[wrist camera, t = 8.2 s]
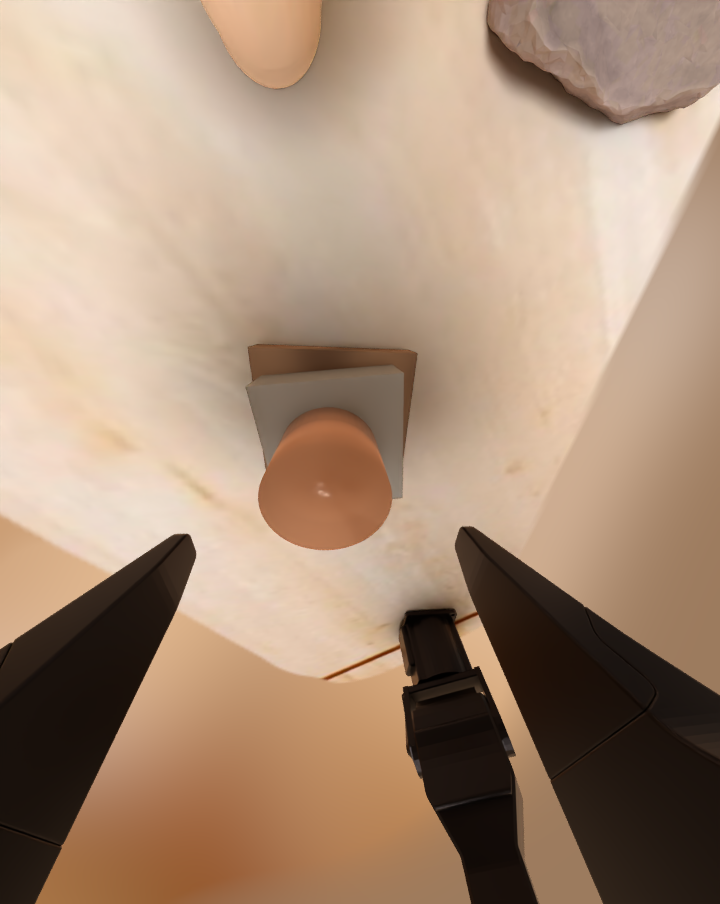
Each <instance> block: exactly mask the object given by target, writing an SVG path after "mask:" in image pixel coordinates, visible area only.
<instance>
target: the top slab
mask: <svg viewBox="0 0 720 904" xmlns="http://www.w3.org/2000/svg"><path fill="white" fill-rule="evenodd" d="M246 390H247V394H248V397H249V401H250V405H251V408H252V412H253V415H254V419H255V423H256V426H257V430H258V434H259V437H260V441H261V445H262V448H263V452H264V455H265V459H266V463H267V466H268V465H269V463H270V461H271V459H272V457H273V455H274V453H275V451H276V448H277V446H278V444H279V442H280V440H281V438H282V436H283V434H284V432H285V430H286V428H287V427H288V426H289V424H290V423H291V422H292V421H293V420H294V419H295V418H297V417H298V416H300V415H301V414H303V413H305V412H307V411H310V410H312V409H317V408H323V407H334V408H340V409H343V410H347V411H349V412H351V413H353V414H355V415H357V416H358V417H360V418H361V419H362V420H363V421H364V422H365V423H366V424H367V425H368V426H369V427H370V429H371V430H372V432H373V434H374V436H375V439H376V442H377V445H378V448H379V451H380V454H381V457H382V460H383V463H384V466H385V470H386V473H387V476H388V479H389V482H390V485H391V489H392V499H398V498H402V486H403V402H404V373H403V372H402V371H400V370H399V369H398V368H396V367H395V366H394V365H380V366H368V367H356V368H345V369H333V370H321V371H309V372H298V373H286V374H274V375H262V376H260V377H259V378H257V379H256V380H254V381H253V382H251V383H250V384H249V385H247V386H246Z"/></svg>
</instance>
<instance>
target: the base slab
mask: <svg viewBox="0 0 720 904" xmlns="http://www.w3.org/2000/svg"><path fill="white" fill-rule="evenodd" d="M248 353H249V360H250V366H251V373H252V380H253V381H254V380H256V379H257V378H259V377H260V376H262V375H274V374H286V373H298V372H309V371H321V370H333V369H345V368H356V367H368V366H380V365H394V366H395V367H396V368H398V369H399V370H400V371H402V372H403V373H404V402H403V456H404V448H405V441H406V434H407V426H408V419H409V412H410V404H411V397H412V390H413V382H414V375H415V368H416V360H417V353H415V352H412V351H410V350H395V349H369V348H342V347H316V346H290V345H264V344H257V345H253V346H250V347H248ZM263 454H264V452H263ZM264 461H265V468H266V470H267V467H268V466H267V463H266V459H265V455H264Z"/></svg>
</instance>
